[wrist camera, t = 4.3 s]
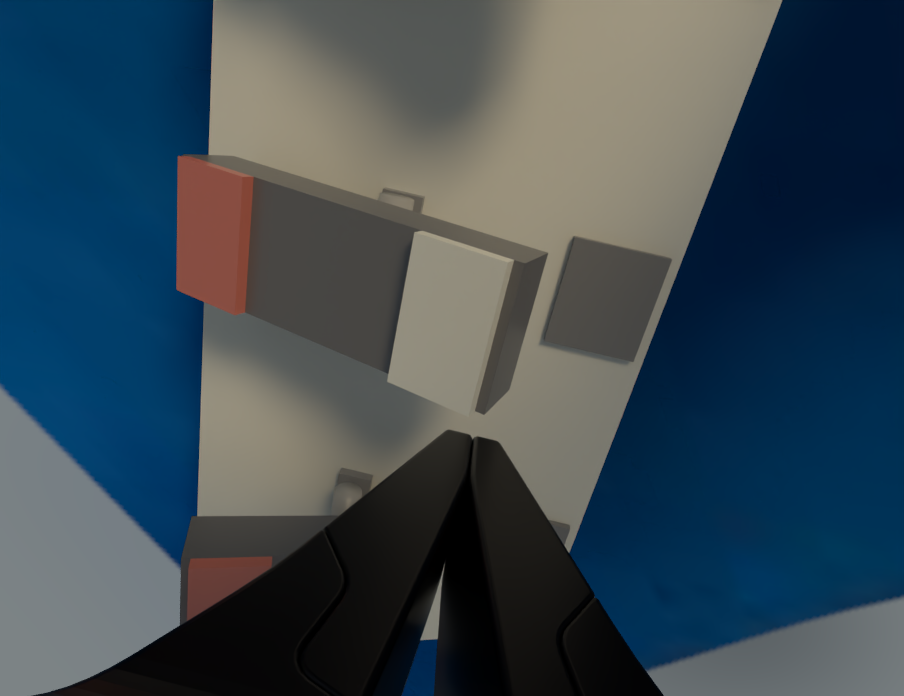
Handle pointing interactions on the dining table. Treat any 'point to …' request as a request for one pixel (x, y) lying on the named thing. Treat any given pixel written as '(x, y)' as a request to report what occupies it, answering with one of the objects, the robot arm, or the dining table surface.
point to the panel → (470, 215)
